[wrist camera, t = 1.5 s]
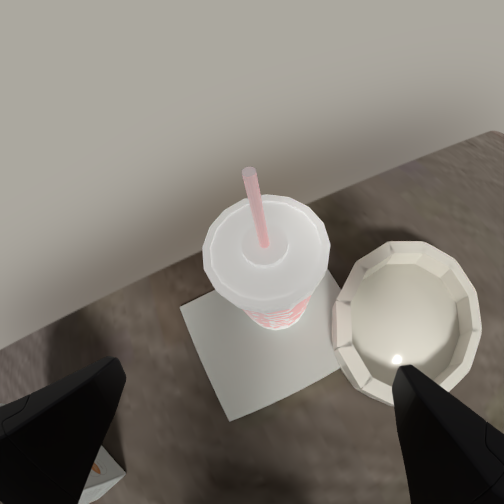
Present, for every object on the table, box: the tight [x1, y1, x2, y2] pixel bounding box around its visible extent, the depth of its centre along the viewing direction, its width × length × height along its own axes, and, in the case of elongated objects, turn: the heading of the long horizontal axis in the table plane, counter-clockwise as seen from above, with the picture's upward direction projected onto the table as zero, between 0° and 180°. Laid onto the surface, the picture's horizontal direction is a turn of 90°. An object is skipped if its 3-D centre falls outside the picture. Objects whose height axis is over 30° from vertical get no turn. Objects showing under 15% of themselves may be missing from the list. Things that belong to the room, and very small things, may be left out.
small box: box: [0, 403, 126, 504], centre depth 10 cm, size 8×6×13 cm
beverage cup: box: [202, 166, 330, 330], centre depth 15 cm, size 6×6×14 cm
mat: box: [180, 269, 341, 422], centre depth 20 cm, size 12×10×1 cm
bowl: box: [331, 241, 482, 406], centre depth 17 cm, size 12×12×3 cm
